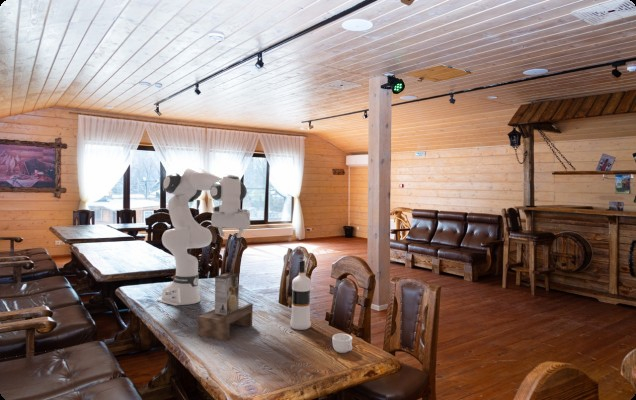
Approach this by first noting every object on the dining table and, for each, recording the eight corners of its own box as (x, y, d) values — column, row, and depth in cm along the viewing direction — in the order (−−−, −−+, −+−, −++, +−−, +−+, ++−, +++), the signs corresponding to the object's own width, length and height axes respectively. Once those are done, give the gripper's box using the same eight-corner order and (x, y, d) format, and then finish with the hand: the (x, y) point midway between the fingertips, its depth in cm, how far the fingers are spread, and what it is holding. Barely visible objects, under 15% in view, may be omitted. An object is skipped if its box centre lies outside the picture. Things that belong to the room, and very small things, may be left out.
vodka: (286, 324, 191) (288, 259, 189) (305, 322, 195) (307, 258, 193) (294, 331, 182) (296, 263, 181) (314, 329, 186) (316, 261, 185)
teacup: (328, 349, 165) (328, 335, 164) (343, 345, 169) (344, 332, 169) (343, 358, 156) (343, 344, 156) (359, 354, 160) (360, 340, 160)
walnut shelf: (198, 335, 175) (198, 311, 174) (225, 321, 193) (225, 299, 193) (227, 341, 170) (227, 316, 169) (252, 325, 188) (252, 303, 188)
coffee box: (226, 308, 187) (226, 272, 186) (238, 310, 184) (239, 273, 184) (214, 313, 178) (214, 276, 177) (227, 316, 176) (227, 278, 175)
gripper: (253, 209, 204) (252, 237, 204) (217, 207, 211) (216, 234, 211) (246, 210, 198) (245, 239, 198) (209, 207, 205) (209, 236, 206)
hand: (230, 236), depth 205 cm, fingers open, 8 cm apart
